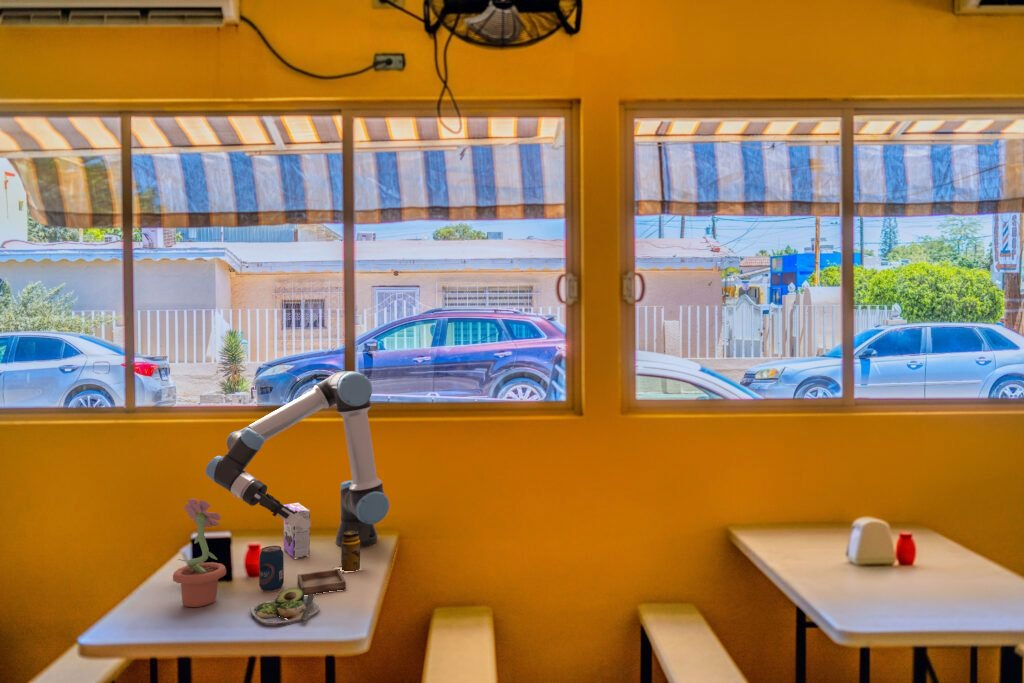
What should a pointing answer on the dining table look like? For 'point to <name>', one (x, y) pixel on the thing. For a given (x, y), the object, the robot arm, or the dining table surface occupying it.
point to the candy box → (297, 534)
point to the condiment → (350, 551)
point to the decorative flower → (200, 562)
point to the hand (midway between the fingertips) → (303, 525)
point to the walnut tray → (321, 581)
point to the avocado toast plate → (286, 608)
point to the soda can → (271, 568)
